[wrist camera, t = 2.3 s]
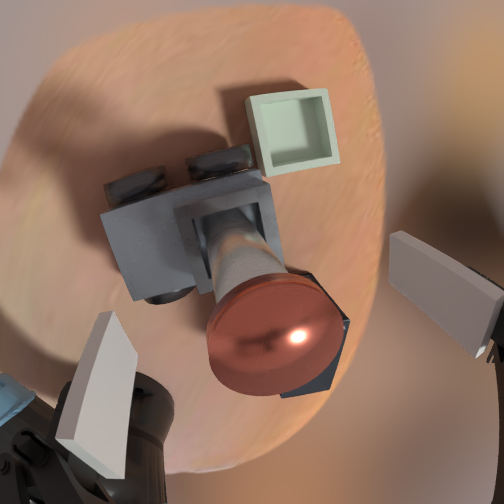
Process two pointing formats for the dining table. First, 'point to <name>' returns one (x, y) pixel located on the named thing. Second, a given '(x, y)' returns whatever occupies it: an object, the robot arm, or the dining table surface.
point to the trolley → (182, 221)
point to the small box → (327, 375)
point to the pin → (264, 314)
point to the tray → (292, 130)
